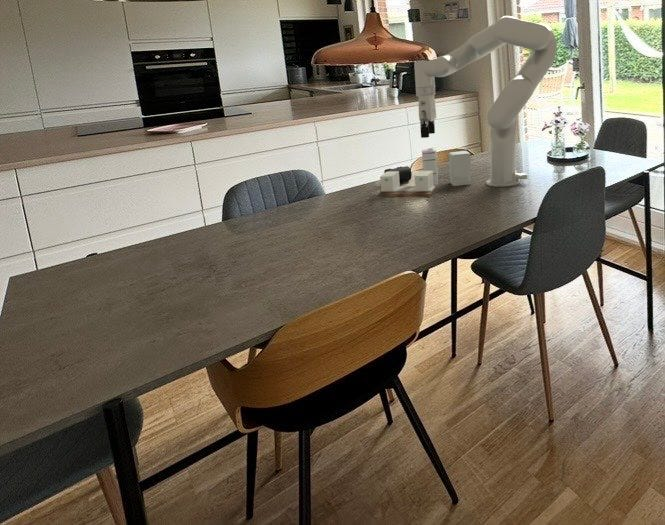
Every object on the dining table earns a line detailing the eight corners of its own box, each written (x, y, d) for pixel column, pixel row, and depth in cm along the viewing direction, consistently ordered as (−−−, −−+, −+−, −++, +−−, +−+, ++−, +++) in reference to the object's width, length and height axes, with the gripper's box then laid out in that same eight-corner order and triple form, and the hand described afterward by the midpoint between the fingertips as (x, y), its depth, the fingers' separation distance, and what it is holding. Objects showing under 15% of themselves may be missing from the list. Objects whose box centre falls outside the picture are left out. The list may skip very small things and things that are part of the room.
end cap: (391, 186, 240) (390, 170, 237) (384, 183, 246) (383, 168, 244) (412, 182, 242) (411, 167, 240) (404, 180, 249) (403, 164, 246)
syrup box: (438, 185, 232) (436, 150, 227) (423, 186, 234) (421, 151, 229) (437, 182, 238) (436, 147, 233) (423, 183, 239) (422, 148, 234)
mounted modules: (433, 185, 226) (432, 170, 223) (427, 191, 218) (427, 176, 215) (388, 185, 233) (387, 171, 231) (380, 191, 225) (379, 176, 223)
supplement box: (471, 184, 228) (470, 153, 224) (452, 186, 228) (451, 155, 224) (467, 180, 235) (466, 150, 231) (449, 182, 235) (448, 152, 231)
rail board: (437, 188, 227) (436, 184, 226) (430, 196, 217) (429, 192, 216) (387, 189, 235) (386, 185, 235) (378, 196, 225) (377, 192, 225)
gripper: (429, 93, 214) (432, 138, 220) (439, 88, 229) (442, 131, 235) (410, 94, 217) (413, 139, 223) (421, 90, 232) (424, 132, 238)
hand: (428, 135), depth 229 cm, fingers open, 9 cm apart
